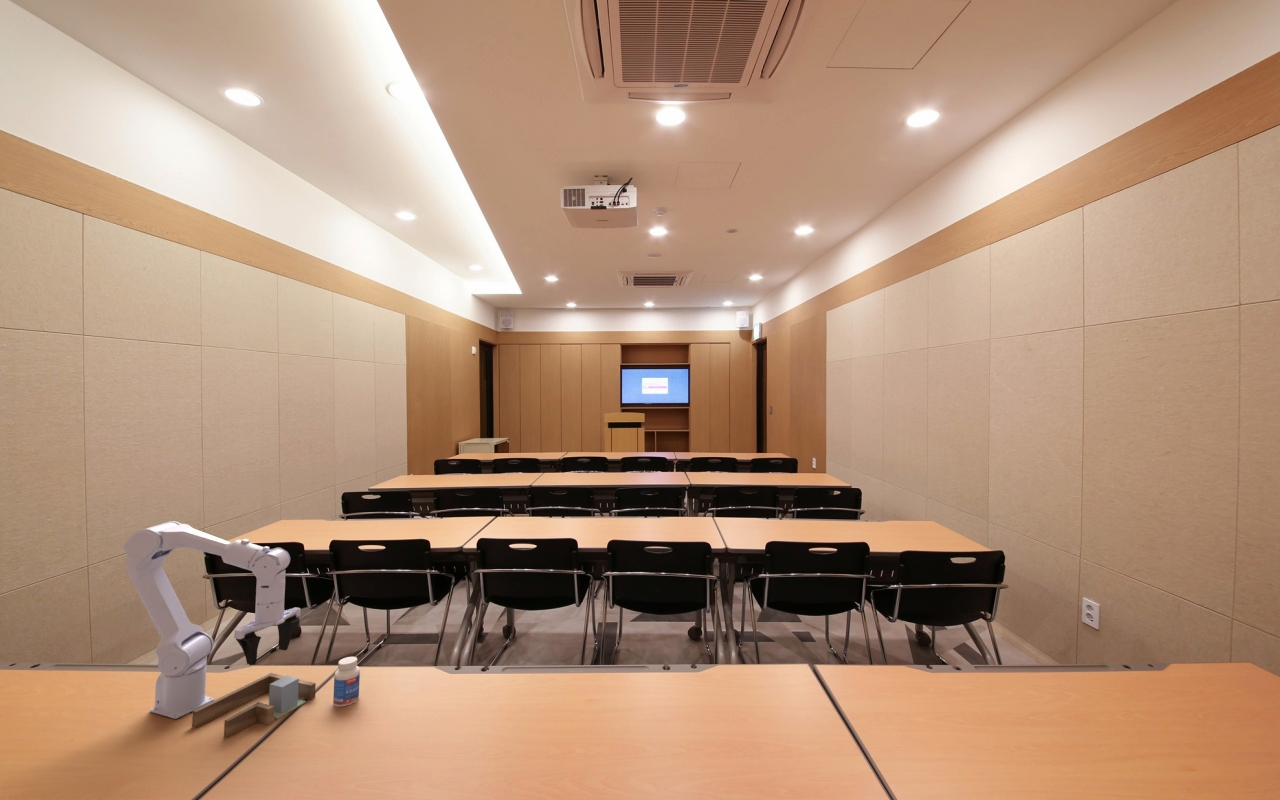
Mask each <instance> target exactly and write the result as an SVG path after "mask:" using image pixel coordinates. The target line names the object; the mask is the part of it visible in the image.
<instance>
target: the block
mask: <svg viewBox="0 0 1280 800" xmlns="http://www.w3.org/2000/svg"><path fill="white" fill-rule="evenodd" d="M284 676H285V677H283V678H281V679H279V680H277V681H275V682H273V683H271V684H270V690H268V695H269V696H268V698H269V699H268V705H271V706H274V712H278V713H283V712H285V711H286V710H288V709H290V708H292V707H293V706H295V705H297V704H298V699H299V697H298V683H299V678H297V677H294V676H290V675H284Z"/></svg>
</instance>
